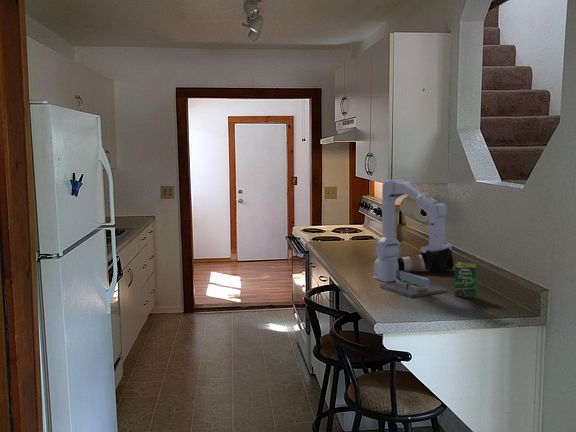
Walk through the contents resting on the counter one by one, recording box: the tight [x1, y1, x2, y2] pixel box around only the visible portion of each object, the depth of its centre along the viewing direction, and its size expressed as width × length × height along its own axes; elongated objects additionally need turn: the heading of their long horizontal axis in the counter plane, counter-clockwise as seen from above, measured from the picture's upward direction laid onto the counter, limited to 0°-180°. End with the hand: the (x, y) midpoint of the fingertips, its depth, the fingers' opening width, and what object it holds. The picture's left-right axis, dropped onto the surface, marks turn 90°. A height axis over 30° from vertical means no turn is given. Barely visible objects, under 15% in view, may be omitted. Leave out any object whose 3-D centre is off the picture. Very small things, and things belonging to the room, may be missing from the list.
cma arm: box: [396, 270, 430, 287], centre depth 217 cm, size 18×3×3 cm, turn 30°
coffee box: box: [454, 261, 478, 299], centre depth 207 cm, size 8×3×13 cm, turn 58°
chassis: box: [379, 279, 448, 299], centre depth 218 cm, size 18×19×3 cm
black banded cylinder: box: [396, 251, 454, 273], centre depth 250 cm, size 10×34×10 cm, turn 90°
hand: (435, 269), depth 209 cm, fingers open, 7 cm apart
